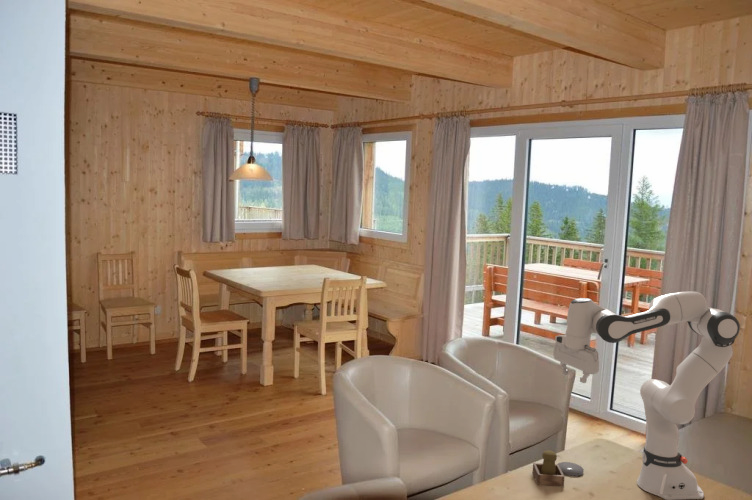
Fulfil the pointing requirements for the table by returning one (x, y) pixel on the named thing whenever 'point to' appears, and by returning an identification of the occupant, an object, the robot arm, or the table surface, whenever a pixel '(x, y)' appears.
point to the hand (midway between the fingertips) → (573, 378)
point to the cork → (549, 462)
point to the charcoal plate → (571, 469)
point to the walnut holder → (548, 476)
